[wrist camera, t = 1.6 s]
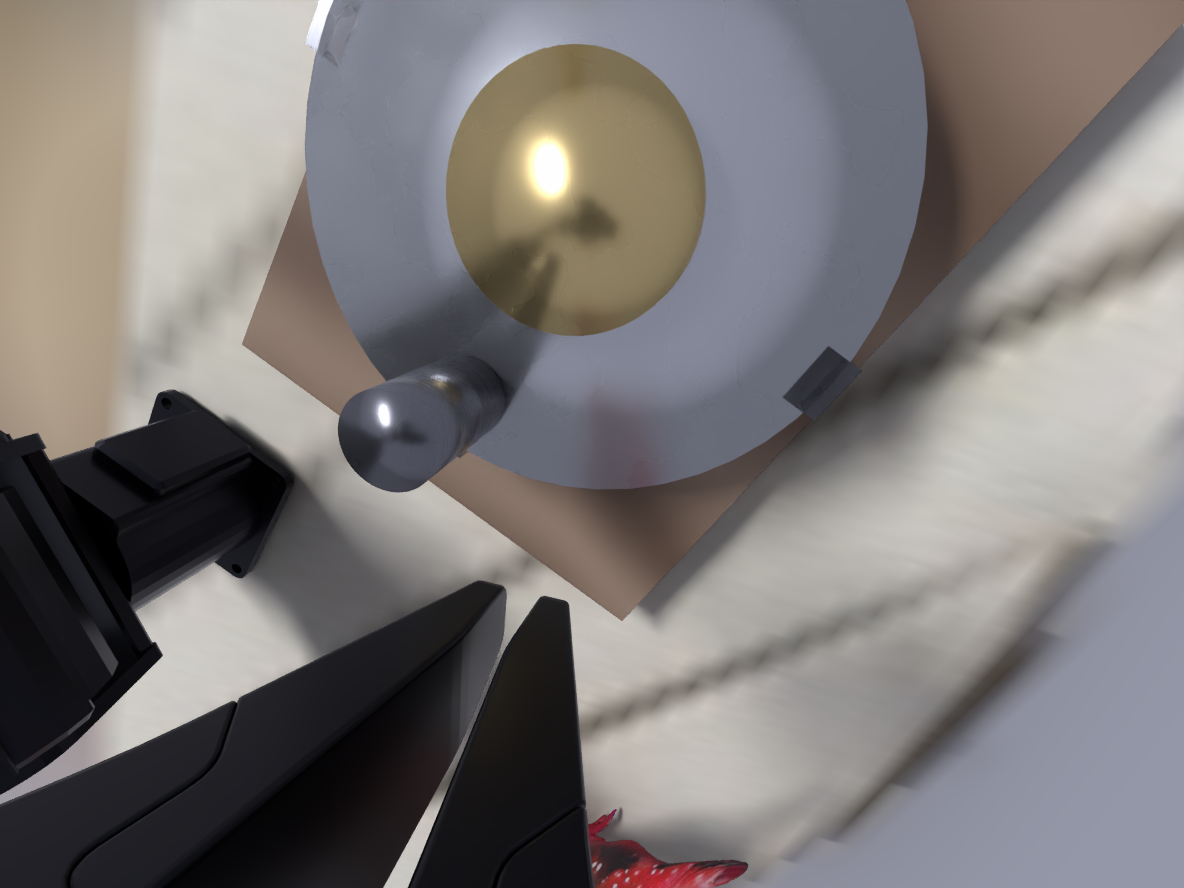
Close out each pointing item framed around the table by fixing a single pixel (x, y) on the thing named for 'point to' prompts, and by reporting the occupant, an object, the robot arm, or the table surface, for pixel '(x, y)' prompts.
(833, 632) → the table surface
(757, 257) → the notched round platform
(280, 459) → the table surface
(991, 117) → the base plate
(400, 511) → the table surface
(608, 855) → the decorative bird figurine
